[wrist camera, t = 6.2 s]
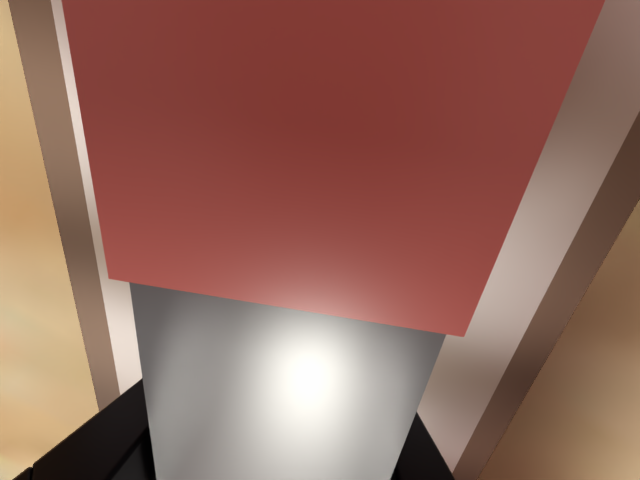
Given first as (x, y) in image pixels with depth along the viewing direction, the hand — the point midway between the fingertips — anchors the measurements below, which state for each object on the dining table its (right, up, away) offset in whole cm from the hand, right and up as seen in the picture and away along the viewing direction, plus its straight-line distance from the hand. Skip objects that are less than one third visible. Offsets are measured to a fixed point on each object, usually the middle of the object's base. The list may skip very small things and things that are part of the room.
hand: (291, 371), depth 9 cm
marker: (0, +1, +1) cm, 1 cm away
